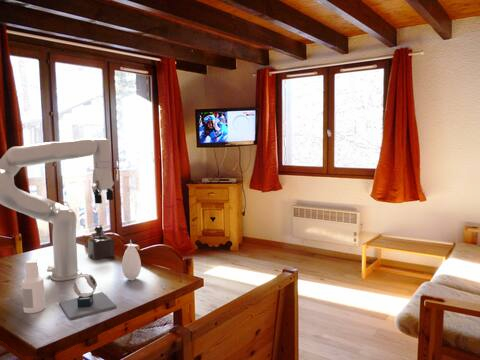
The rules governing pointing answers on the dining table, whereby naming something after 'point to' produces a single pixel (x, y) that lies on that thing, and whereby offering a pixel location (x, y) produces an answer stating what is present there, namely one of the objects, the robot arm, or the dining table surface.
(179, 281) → the dining table surface
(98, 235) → the coffee grinder
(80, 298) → the watch
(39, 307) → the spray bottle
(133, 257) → the white eggplant
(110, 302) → the mat
